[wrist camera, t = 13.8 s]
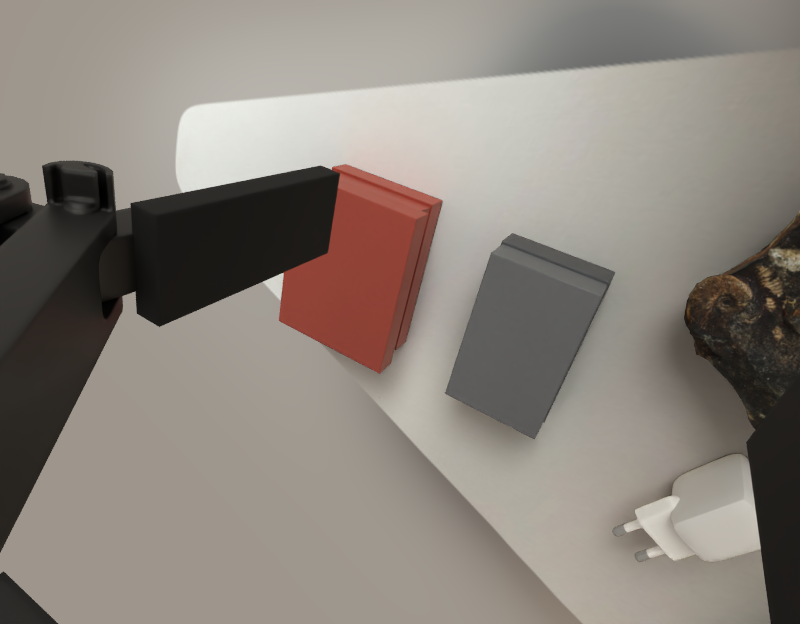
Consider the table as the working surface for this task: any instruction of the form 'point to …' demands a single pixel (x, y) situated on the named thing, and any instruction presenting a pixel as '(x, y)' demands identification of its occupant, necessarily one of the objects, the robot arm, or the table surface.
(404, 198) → the red box
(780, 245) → the fossil rock
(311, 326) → the thin red book
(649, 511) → the power adapter
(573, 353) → the grey box
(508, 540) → the table surface
